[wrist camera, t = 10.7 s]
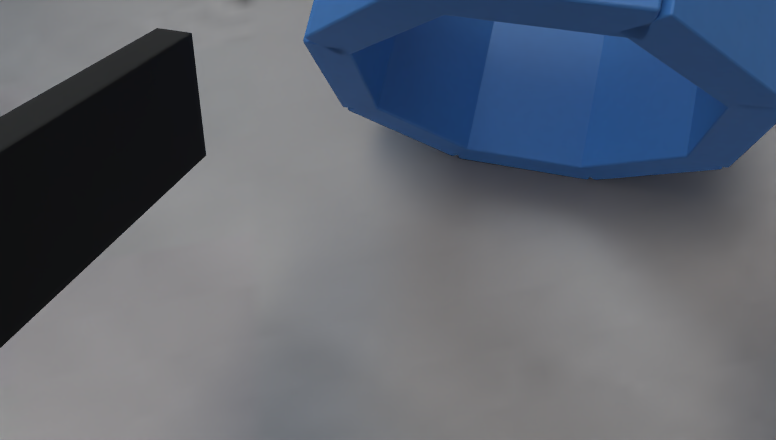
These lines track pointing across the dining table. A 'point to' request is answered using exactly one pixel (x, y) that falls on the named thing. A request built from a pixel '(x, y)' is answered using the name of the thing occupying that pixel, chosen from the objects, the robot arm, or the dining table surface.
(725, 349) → the dining table surface
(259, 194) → the dining table surface
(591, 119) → the tape
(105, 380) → the dining table surface
